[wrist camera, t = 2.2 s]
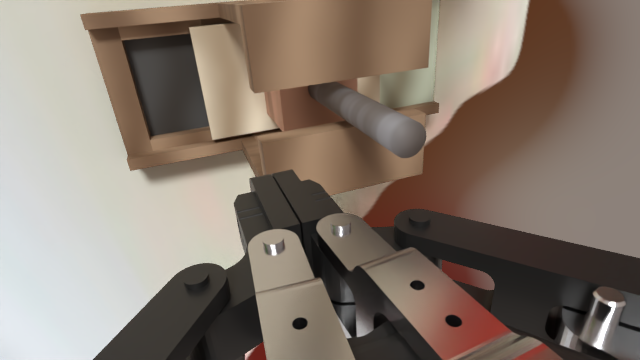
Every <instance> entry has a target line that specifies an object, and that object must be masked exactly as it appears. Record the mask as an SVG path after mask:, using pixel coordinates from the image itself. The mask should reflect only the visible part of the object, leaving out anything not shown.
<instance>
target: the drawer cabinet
mask: <svg viewBox="0 0 640 360" xmlns="http://www.w3.org/2000/svg"><path fill="white" fill-rule="evenodd" d="M439 6H440V0H245V1H233V2H220V3H208V4H196V5H184V6H172V7H160V8H147V9H135V10H123V11H111V12H99V13H87V14H81V19H82V22H83V25H84V28H85V30H88V31H89V35H90V38H91V41H92V44H93V47H94V50H95V53H96V57H97V60H98V63H99V66H100V69H101V72H102V75H103V79H104V82H105V85H106V88H107V91H108V94H109V97H110V101H111V104H112V107H113V110H114V113H115V116H116V119H117V123H118V126H119V129H120V132H121V135H122V138H123V141H124V145H125V148H126V151H127V154H128V157H127V162H128V165H129V168H130V171H132V170H137V169H143V168H148V167H153V166H158V165H164V164H169V163H174V162H180V161H185V160H190V159H196V158H201V157H206V156H212V155H217V154H222V153H227V152H233V151H238V150H243V152H244V154H245V156H246V158H247V160H248V162H249V164H250V166H251V168H252V170H253V172H254V174H255V176H256V177H258V176H263V175H268V174H272V173H277V172H282V171H286V170H291V169H292V170H293V171H294V172H295V174H296V175H297V176H298V178H299V179H300V180H301V181H304V180H309V179H310V180H312V181H314V182H317V183H319V184H320V185H321V186H322V187H323V188H324V190H325V191H326V192H327V193H328V194H329V196H330V195H334V194H338V193H342V192H347V191H351V190H355V189H359V188H364V187H368V186H372V185H376V184H381V183H385V182H389V181H393V180H398V179H402V178H406V177H410V176H415V175H419V174H422V172H423V153H424V146H423V147H422V149H421V150H420V151H419V152H418V153H417V154H416V155H414V156H413V157H410V158H400V157H398V156H397V155H395V154H394V153H392V152H391V151H389V150H388V149H386V148H385V147H384V146H382V145H381V144H379V143H378V142H376V141H375V140H373V139H372V138H370V137H369V136H367V135H366V134H365V133H363V132H362V131H360V130H359V129H357V128H356V127H354V126H353V125H351V124H350V123H348V122H347V121H346V120H344V121H339V122H333V123H328V124H322V125H317V126H311V127H305V128H300V129H294V130H289V131H282V130H281V129H280V128H277V129H271V130H265V131H260V132H254V133H248V134H243V135H237V136H231V137H226V138H220V139H215V140H212V136H211V132H210V127H209V122H208V117H207V112H206V108H205V103H204V98H203V93H202V88H201V83H200V79H199V74H198V69H197V64H196V59H195V55H194V50H193V45H192V40H191V35H190V30H189V27H194V26H204V25H214V24H225V23H237V24H240V26H241V32H242V39H243V45H244V52H245V59H246V65H247V72H248V79H249V85H250V89H251V90H252V91H253V92H254V93H262V92H269V91H275V90H282V89H289V88H295V87H302V86H309V85H315V84H322V83H329V82H336V81H342V80H349V79H356V78H362V77H369V76H376V75H380V103H381V104H383V105H385V106H387V107H389V108H391V109H393V110H395V111H397V112H399V113H401V114H403V115H405V116H407V117H409V118H411V119H413V120H415V121H418V122H419V123H421V124H422V125H423V126H424V128H425V119H426V115H429V114H435V113H438V112H439V103H437V102H434V101H433V100H434V84H435V68H436V53H437V37H438V22H439Z"/></svg>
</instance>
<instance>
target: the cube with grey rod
mask: <svg viewBox="0 0 640 360" xmlns="http://www.w3.org/2000/svg"><path fill="white" fill-rule="evenodd" d="M189 30H190V35H191V40H192V45H193V50H194V55H195V59H196V64H197V69H198V74H199V79H200V83H201V88H202V93H203V98H204V103H205V108H206V112H207V117H208V122H209V127H210V132H211V136H212V140H215V139H220V138H226V137H231V136H237V135H243V134H248V133H254V132H260V131H265V130H271V129H277V128H280V129H281V130H282V131H289V130H294V129H300V128H305V127H311V126H317V125H322V124H328V123H333V122H339V121H344V120H346V121H347V122H348V123H350V124H351V125H353V126H354V127H356V128H357V129H359V130H360V131H362V132H363V133H365V134H366V135H367V136H369V137H370V138H372V139H373V140H375V141H376V142H378V143H379V144H381V145H382V146H384V147H385V148H386V149H388V150H389V151H391V152H392V153H394V154H395V155H397V156H398V157H400V158H410V157H413V156H414V155H416V154H417V153H418V152H419V151H420V150H421V149H422V147H423V146H424V143H425V140H426V131H425V128H424V126H423V125H422V124H421V123H419V122H418V121H415V120H413V119H411V118H409V117H407V116H405V115H403V114H401V113H399V112H397V111H395V110H393V109H391V108H389V107H387V106H385V105H383V104H381V103H380V75H376V76H369V77H362V78H356V79H349V80H342V81H336V82H329V83H322V84H315V85H309V86H302V87H295V88H289V89H282V90H275V91H269V92H262V93H254V92H253V91H252V90H251V89H250V85H249V79H248V72H247V65H246V59H245V52H244V45H243V39H242V32H241V26H240V24H237V23H225V24H214V25H204V26H194V27H189Z"/></svg>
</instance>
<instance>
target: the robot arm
mask: <svg viewBox="0 0 640 360" xmlns="http://www.w3.org/2000/svg"><path fill="white" fill-rule="evenodd" d="M250 188H251V192H250V193H245V194H241V195H238V196H237V198H236V200H235V202H234V207H235V212H236V217H237V222H238V227H239V233H240V238H241V242H242V245H243V249H244V252H245V256H244V257H243V258H242V259H241V260H240V261H239V262H238V263H236V264H235V265H234V266H232V267H230V268H228V269H226V270H224V269H223V268H222V267H221V266H219V265H217V264H212V263H203V264H197V265H193V266H190V267H188V268H186V269H184V270H182V271H180V272H179V273H177V274H176V275H175V276H174V277H173V278H172V279H171V280H170V281H169V282H168V283H167V284H166V285H165V286H164V287H163V288H162V289H161V290H160V291H159V292H158V293H157V294H156V295H155V296H154V297H153V298H152V299H151V300H150V301H149V302H148V304H147V305H146V306H145V307H144V308H143V309H142V310H141V311H140V312H139V313H138V314H137V315H136V316H135V317H134V318H133V319H132V320H131V321H130V322H129V323H128V324H127V325H126V326H125V327H124V328H123V329H122V330H121V331H120V332H119V333H118V334H117V335H116V336H115V337H114V338H113V340H112V341H111V342H110V343H109V344H108V345H107V346H106V347H105V348H104V349H103V350H102V351H101V352H100V353H99V354H98V355H97V356H96V357H95V358H94V359H93V360H245V353H247V352H248V351H250V350H251V349H253V348H254V347H256V346H257V345H259V344H260V343H262V342H263V341H264V346H265V352H266V358H267V360H640V258H636V257H632V256H627V255H623V254H618V253H614V252H610V251H605V250H601V249H596V248H592V247H587V246H583V245H579V244H574V243H570V242H565V241H561V240H557V239H552V238H548V237H543V236H539V235H535V234H531V233H526V232H522V231H517V230H513V229H508V228H504V227H499V226H495V225H491V224H486V223H482V222H478V221H473V220H469V219H465V218H460V217H455V216H451V215H447V214H442V213H438V212H433V211H429V210H424V209H410V210H406V211H403V212H400V213H399V214H398V215H397V216H396V217H395V219H394V227H370V226H369V225H368V224H367V223H366V222H365V221H364V220H362V219H361V218H360V217H358V216H356V215H353V214H347V213H343V211H342V210H341V209H340V208H339V206H338V205H337V204H336V203H335V202H334V200H333V199H332V198H330V196H329V194H328V193H327V192H326V191H325V190H324V188H323V187H322V186H321V185H320V184H319V183H317V182H314V181H312V180H310V179H309V180H304V181H301V180H300V179H299V178H298V176H297V175H296V174H295V172H294V171H293V170H292V169H291V170H286V171H282V172H277V173H272V174H268V175H263V176H258V177H253V178H250ZM442 260H446V261H449V262H452V263H456V264H460V265H463V266H466V267H470V268H473V269H477V270H480V271H483V272H485V273H487V274H488V275H490V276H491V277H492V279H493V280H494V283H495V288H494V290H484V289H481V288H478V287H474V286H472V285H468V284H465V283H462V282H459V281H455V280H452V279H450V278H449V277H448V276H447V275H446V274H445V273H443V272H442V271H441V269H442Z"/></svg>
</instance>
